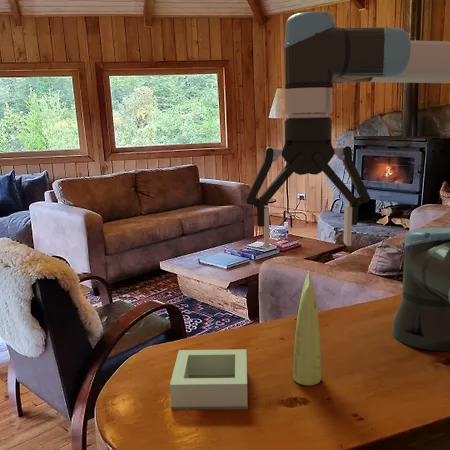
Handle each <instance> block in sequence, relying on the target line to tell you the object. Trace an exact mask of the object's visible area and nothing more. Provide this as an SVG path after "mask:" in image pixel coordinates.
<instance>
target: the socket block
mask: <svg viewBox="0 0 450 450" xmlns="http://www.w3.org/2000/svg"><path fill="white" fill-rule="evenodd" d="M247 362H248V360H247V349H243V348H241V349H239V348H237V349H178V352H177V355H176V360H175V364H174V368H173V371H172V375H171V379H170V382H169V395H170V410H171V411H173V410H174V411H175V410H176V411H177V410H178V411H182V410H185V411H186V410H188V411H190V410H199V411H200V410H248V370H247V369H248V367H247V366H248V365H247Z"/></svg>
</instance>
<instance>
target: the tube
mask: <svg viewBox="0 0 450 450" xmlns="http://www.w3.org/2000/svg"><path fill="white" fill-rule="evenodd" d="M313 283H314V282H313V280H312V277H311V275H310V270H309V269H307V274H306V276H305V280H304V283H303V285H302V290H301V294H300V300H299V305H298V311H297V316H296V317H297V318H296V325H295V333H294V334H295V337H294V348H293V349H294V350H293V351H294V352H293V370H292V371H293V374H292V375H293V376H292V378H293V380H294V382H296V383H298V384H300V385H303V386H315V385H317V384H319V383H320V382H321V378H322V377H321V376H322V361H321V360H322V357H321V355H322V354H321V353H322V351H321V333H320V331H321V330H320V321H319V319H320V318H319V313H318V306H317V305H318V304H317V299H316V292H315V288H314V284H313Z"/></svg>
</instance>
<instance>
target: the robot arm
mask: <svg viewBox="0 0 450 450" xmlns="http://www.w3.org/2000/svg"><path fill="white" fill-rule="evenodd" d="M334 20H335V19H334V15H333V14H332V13H329V12H325V11H324V12H323V11H306V12H297V13H295V14H292V15H290V17H288V18H287V20H286V23H285V30H284V31H285V32H284V34H285V35H284V44H283V49H284V82H285V83H284V114H285V115H288V118H285V120H284V145H283V147H282V148H273V147H271V146H268V147H266V148H265V151H264V160H263V162H262V164H261V167H260V169H259V170H258V173H257V175H256V177H255V179H254V180H253V183H252V184H251V186H250V189H249V191H248V193H247V196H246V198H245V201H246V204H247V205H251V206H254V207H256V222H257V225H258V227H259V228H260V227H262V228H263V246H264V248H270V208H269V205H267V204H268V203H269V201H271V199H272V198H273V197H274V195H275V194H276V193H277V192H278V191H279V189H280V188H281V187H282V185H284V184H285V182H286V181H287V180H288V179H289V178H290V177H291V176H292V175H293V174H296V175H299V176H304V175H308V174H310V175H313V176H314V175H318V174H321V173H322V172H323V174H324V175H325V176H326V177H327V178H328V179H329V180H330V181H331V183H332V184H333V185H334V186H335V187H336V189H338V191H339V192H340V193H341V195H342V196H343V197H344V198H345V199H346V201H348V203H349V204H344V207H343V209H344V210H343V211H344V212H343V213H344V214H343V243H344V245H346V246H347V247H351V246H352V231H353V230H352V228H353V227H352V226H357V225H358V224H359V223H358V222H359V207H360V206H361V205H362V204H365V203H369V202H370V201H371V196H370V194H369V192H368V189H367V188H366V186H365V184H364V181H363V180H362V177H361V175H360V173H359V171H358V168H357V167H356V165H355V162H354V161H353V152H352V147H351V146H349V145H342V146H340V147H334V146H333V143H332V133H333V132H332V127H333V123H332V122H333V119H331V117H329V114H332V113H333V87H334V84H342V83H406V84H407V83H409V84H410V83H411V84H412V83H413V84H420V83H421V84H422V83H424V84H450V41H447V40H411V39H410V35H409V33H408V32H407V31H406V30H405V29H404V28H401V27H388V26H384V27H379V26H378V27H340V26H336V24H335V21H334ZM335 155H336V156H337V159H339V160H340V161H342V164H343V165H344V167H345V170H346V171H347V174H348V176H349V178H350V180H351V182H352V185H353V186H354V188H355V191H356V193H357V195H356V196H355V194H354V193H353V192H352V190H350V189H349V187H348V186H347V185H346V184H345V183H344V181H343V180H342V179H341V178H340V177H339V175H338V174H337V173H336V172H335V171H334V169H333V168H332V167H331V166H330V165H329V162H331V160H332V158H333V157H334V156H335ZM280 156H281V157H282V158H283V160H284V161H285V162H286V165H285V166H284V167H283V168H282V170H281V171H280V172H279V174H278V175H277V176H276V178H275V179H274V180H273V181H272V182H271V183H270V184H269V186H268V187H267V188H266V189H265V191H264V192H263V193H262V194H261V195H260V197H257V196H258V193H259V192H260V190H261V188H262V186H263V184H264V182H265V180H266V178H267V176H268V173H269V171H270V169H271V167H272V165H273V162H277V160H278V158H279V157H280ZM404 239H405V240H404V245H403V268H402V269H403V270H402V271H403V272H402V295H401V301H400V303H399V304H398V305H399V306H398V307H397V310H396V312H395V315H394V318H393V320H392V323H391V324H392V326H391V327H392V328H391V333H392V336H393V337H394V338H395V339H396V340H398V341H399V342H401V343H403V344H405V345H408V346H410V347H413V348H417V349H421V350H426V351H435V352H447V351H448V352H449V351H450V228H449V227H427V228H416V229H411V230H409V231H408V232H406V234H405V238H404Z"/></svg>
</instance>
